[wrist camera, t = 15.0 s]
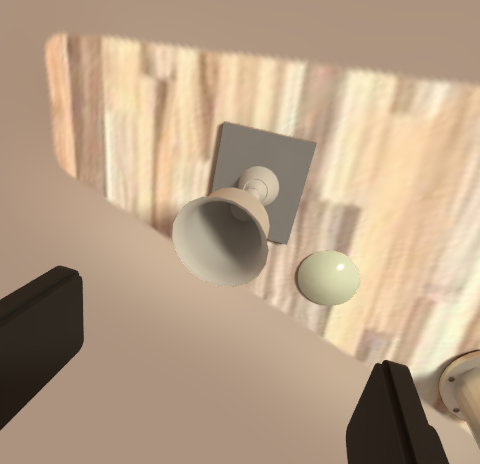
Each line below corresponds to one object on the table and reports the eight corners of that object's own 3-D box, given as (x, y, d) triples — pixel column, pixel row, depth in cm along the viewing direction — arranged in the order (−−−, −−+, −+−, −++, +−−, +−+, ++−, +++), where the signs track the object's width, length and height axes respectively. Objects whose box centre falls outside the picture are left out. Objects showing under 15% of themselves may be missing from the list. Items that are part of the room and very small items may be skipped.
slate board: (316, 142, 37) (316, 143, 36) (287, 241, 42) (286, 244, 41) (225, 121, 38) (223, 121, 37) (208, 220, 43) (206, 222, 43)
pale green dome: (351, 243, 41) (352, 245, 40) (365, 296, 43) (366, 300, 42) (290, 256, 43) (290, 259, 43) (307, 306, 45) (306, 310, 45)
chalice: (299, 185, 38) (289, 244, 22) (263, 225, 41) (230, 303, 25) (252, 145, 38) (205, 174, 21) (219, 188, 40) (155, 243, 24)
